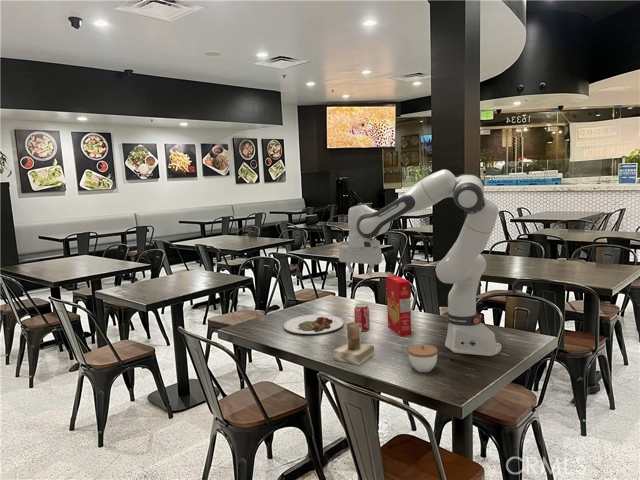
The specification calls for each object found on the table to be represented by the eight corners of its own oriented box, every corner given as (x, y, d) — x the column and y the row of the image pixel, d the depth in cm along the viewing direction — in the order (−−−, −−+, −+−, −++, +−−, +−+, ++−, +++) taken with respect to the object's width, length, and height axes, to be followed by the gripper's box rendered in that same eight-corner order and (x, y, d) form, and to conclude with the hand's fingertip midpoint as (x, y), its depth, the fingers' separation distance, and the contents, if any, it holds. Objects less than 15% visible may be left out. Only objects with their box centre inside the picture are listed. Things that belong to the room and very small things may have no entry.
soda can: (369, 327, 232) (368, 303, 230) (369, 331, 225) (368, 307, 223) (355, 327, 232) (354, 303, 231) (354, 332, 225) (353, 307, 224)
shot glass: (353, 340, 214) (352, 325, 213) (364, 343, 209) (364, 328, 208) (342, 344, 209) (342, 329, 209) (354, 348, 205) (353, 332, 204)
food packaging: (388, 326, 230) (386, 276, 227) (398, 325, 232) (396, 275, 228) (400, 336, 216) (398, 282, 213) (411, 334, 217) (409, 281, 214)
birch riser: (374, 354, 196) (374, 345, 195) (359, 365, 186) (359, 355, 185) (349, 350, 203) (349, 341, 202) (334, 359, 193) (333, 350, 192)
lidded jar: (412, 375, 174) (411, 351, 173) (405, 364, 184) (405, 341, 183) (441, 373, 174) (441, 349, 173) (433, 362, 185) (432, 339, 184)
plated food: (273, 334, 229) (273, 327, 229) (298, 316, 257) (298, 310, 257) (331, 339, 218) (331, 332, 218) (351, 319, 246) (351, 313, 246)
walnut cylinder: (362, 347, 194) (361, 323, 193) (356, 351, 190) (355, 326, 189) (351, 345, 197) (350, 321, 196) (345, 348, 193) (344, 325, 192)
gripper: (335, 242, 210) (336, 272, 212) (376, 243, 198) (377, 276, 200) (342, 240, 215) (344, 270, 217) (383, 241, 203) (384, 273, 205)
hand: (360, 273), depth 208 cm, fingers open, 8 cm apart
